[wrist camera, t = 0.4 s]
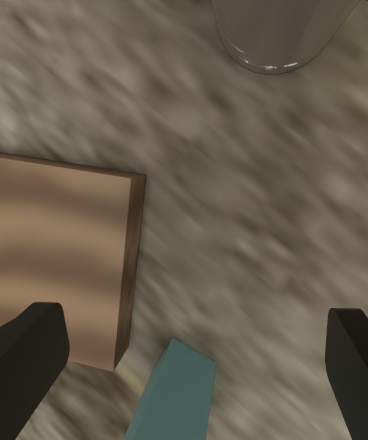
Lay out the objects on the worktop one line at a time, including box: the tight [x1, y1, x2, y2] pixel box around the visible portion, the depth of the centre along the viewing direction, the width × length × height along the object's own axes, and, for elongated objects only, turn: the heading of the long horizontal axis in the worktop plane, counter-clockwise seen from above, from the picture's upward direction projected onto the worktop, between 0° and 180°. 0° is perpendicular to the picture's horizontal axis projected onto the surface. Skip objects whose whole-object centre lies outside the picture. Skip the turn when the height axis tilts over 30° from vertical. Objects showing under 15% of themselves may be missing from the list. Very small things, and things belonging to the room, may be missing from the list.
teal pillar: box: [123, 338, 216, 440], centre depth 26 cm, size 5×5×14 cm
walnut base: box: [0, 152, 146, 372], centre depth 31 cm, size 18×18×4 cm
